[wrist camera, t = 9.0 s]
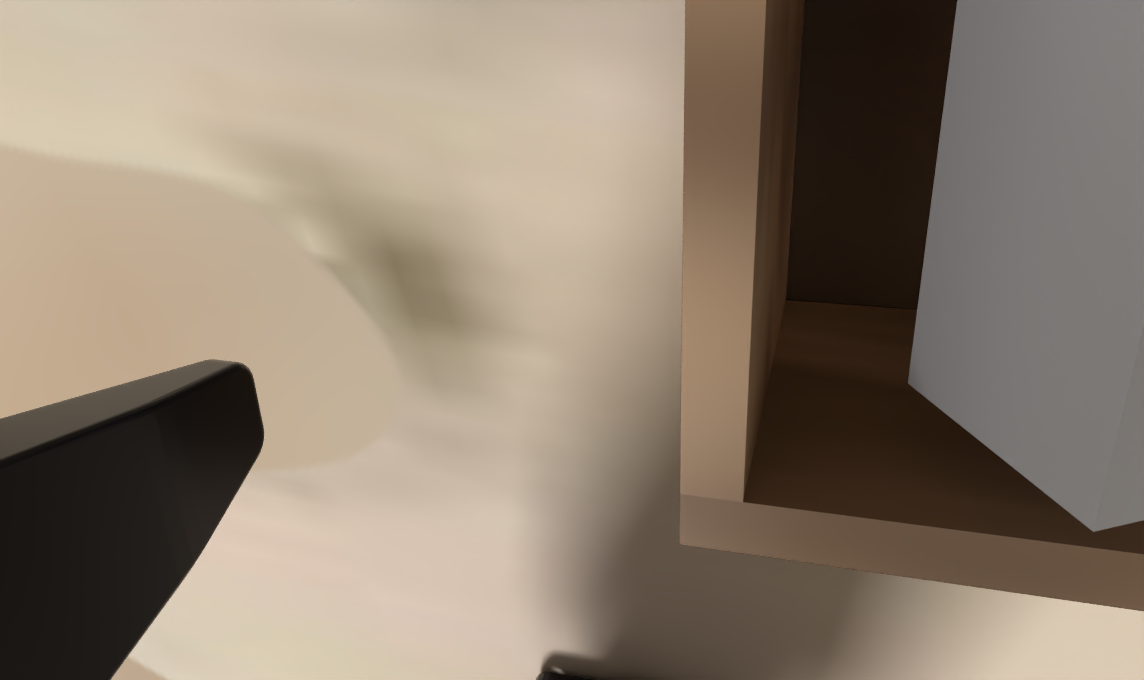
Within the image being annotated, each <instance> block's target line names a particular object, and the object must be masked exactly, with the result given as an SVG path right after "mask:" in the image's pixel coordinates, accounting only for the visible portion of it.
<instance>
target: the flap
mask: <svg viewBox="0 0 1144 680" xmlns="http://www.w3.org/2000/svg"><path fill="white" fill-rule="evenodd" d="M908 384H909V385H910V386H912V387H913V388H914V389H915V390H917V391H918V392H919V393H920V394H922V395H923V396H924V397H925V398H927V399H928V400H929V401H930V402H932V403H933V404H934V405H935V406H937V407H938V408H939V409H940V410H942V411H943V412H944V413H945V414H947V415H948V416H949V417H950V418H952V419H953V420H954V421H955V422H957V423H958V424H959V425H960V426H962V427H963V428H964V429H965V430H967V431H968V432H969V433H970V434H972V435H973V436H974V437H975V438H977V439H978V440H979V441H980V442H982V443H983V444H984V445H985V446H987V447H988V448H989V449H990V450H992V451H993V452H994V453H995V454H997V455H998V456H999V457H1000V458H1002V459H1003V460H1004V461H1005V462H1007V463H1008V464H1009V465H1010V466H1012V467H1013V468H1014V469H1015V470H1017V471H1018V472H1019V473H1020V474H1022V475H1023V476H1024V477H1025V478H1027V479H1028V480H1029V481H1030V482H1032V483H1033V484H1034V485H1035V486H1037V487H1038V488H1039V489H1040V490H1042V491H1043V492H1044V493H1045V494H1047V495H1048V496H1049V497H1050V498H1052V499H1053V500H1054V501H1055V502H1057V503H1058V504H1059V505H1060V506H1062V507H1063V508H1064V509H1065V510H1067V511H1068V512H1069V513H1070V514H1072V515H1073V516H1074V517H1075V518H1077V519H1078V520H1079V521H1080V522H1082V523H1083V524H1084V525H1085V526H1087V527H1088V528H1089V529H1090V530H1092V531H1093V532H1095V531H1099V530H1103V529H1108V528H1112V527H1116V526H1121V525H1125V524H1130V523H1134V522H1138V521H1143V520H1144V0H957V7H956V15H955V22H954V30H953V38H952V46H951V53H950V61H949V69H948V77H947V84H946V92H945V100H944V107H943V115H942V123H941V131H940V138H939V146H938V154H937V161H936V169H935V177H934V185H933V192H932V200H931V208H930V215H929V223H928V231H927V239H926V246H925V254H924V262H923V269H922V277H921V285H920V293H919V300H918V308H917V316H916V324H915V331H914V339H913V347H912V354H911V362H910V370H909V378H908Z"/></svg>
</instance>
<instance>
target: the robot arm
mask: <svg viewBox="0 0 1144 680" xmlns="http://www.w3.org/2000/svg"><path fill="white" fill-rule="evenodd" d="M263 441H264V428H263V423H262V418H261V413H260V408H259V403H258V398H257V393H256V388H255V383H254V379H253V375H252V373H251V371H250V370H249V368H248V367H247V366H245V365H244V364H242V363H239V362H231V361H222V360H205V361H202V362H198V363H194V364H191V365H187V366H184V367H180V368H177V369H173V370H170V371H166V372H163V373H159V374H156V375H153V376H149V377H146V378H142V379H139V380H135V381H131V382H128V383H124V384H121V385H117V386H114V387H110V388H107V389H103V390H100V391H96V392H93V393H89V394H86V395H83V396H79V397H75V398H72V399H68V400H65V401H61V402H58V403H54V404H51V405H47V406H44V407H40V408H37V409H33V410H29V411H26V412H23V413H19V414H16V415H12V416H9V417H5V418H1V419H0V680H111V679H112V677H113V676H114V674H115V673H116V672H117V670H118V669H119V668H120V666H121V664H123V662H124V661H125V659H126V658H127V657H128V655H129V654H130V653H131V651H132V650H133V648H134V647H135V646H136V644H137V643H138V642H139V640H140V639H141V638H142V636H143V635H144V633H145V632H146V631H147V629H148V628H149V627H150V625H151V624H152V622H153V621H154V620H155V618H156V617H157V616H158V614H159V613H160V611H161V610H162V609H163V607H164V606H165V605H166V603H167V602H168V601H169V599H170V598H171V596H172V595H173V594H174V592H175V591H176V590H177V588H178V587H179V585H180V584H181V583H182V581H183V580H184V578H185V577H186V576H187V574H188V573H189V571H190V570H191V568H192V567H193V565H194V564H195V562H196V561H197V559H198V557H199V556H200V554H201V553H202V551H203V549H204V548H205V546H206V544H207V543H208V541H209V539H210V538H211V536H212V534H213V533H214V531H215V529H216V527H217V526H218V524H219V522H220V521H221V519H222V517H223V515H224V514H225V512H226V510H227V509H228V507H229V505H230V504H231V502H232V500H233V498H234V497H235V495H236V493H237V492H238V490H239V488H240V486H241V485H242V483H243V481H244V480H245V478H246V476H247V475H248V473H249V471H250V469H251V468H252V466H253V464H254V463H255V461H256V459H257V457H258V456H259V454H260V452H261V448H262V446H263ZM536 680H588V679H583V678H577V677H572V676H567V675H561V674H556V673H551V672H544V673H541V674H539V675H538V677H537V678H536Z"/></svg>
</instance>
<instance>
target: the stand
mask: <svg viewBox="0 0 1144 680" xmlns="http://www.w3.org/2000/svg"><path fill="white" fill-rule="evenodd" d="M804 2H805V0H685V90H684V181H683V272H682V363H681V453H680V544H681V545H688V546H695V547H702V548H709V549H716V550H723V551H730V552H737V553H744V554H750V555H757V556H764V557H771V558H778V559H785V560H792V561H799V562H806V563H813V564H820V565H827V566H834V567H841V568H847V569H854V570H861V571H868V572H875V573H882V574H889V575H896V576H903V577H910V578H917V579H924V580H931V581H938V582H945V583H951V584H958V585H965V586H972V587H979V588H986V589H993V590H1000V591H1007V592H1014V593H1021V594H1028V595H1035V596H1042V597H1048V598H1055V599H1062V600H1069V601H1076V602H1083V603H1090V604H1097V605H1104V606H1111V607H1118V608H1125V609H1132V610H1139V611H1144V520H1143V521H1138V522H1134V523H1130V524H1125V525H1121V526H1116V527H1112V528H1108V529H1103V530H1099V531H1095V532H1093V531H1092V530H1090V529H1089V528H1088V527H1087V526H1085V525H1084V524H1083V523H1082V522H1080V521H1079V520H1078V519H1077V518H1075V517H1074V516H1073V515H1072V514H1070V513H1069V512H1068V511H1067V510H1065V509H1064V508H1063V507H1062V506H1060V505H1059V504H1058V503H1057V502H1055V501H1054V500H1053V499H1052V498H1050V497H1049V496H1048V495H1047V494H1045V493H1044V492H1043V491H1042V490H1040V489H1039V488H1038V487H1037V486H1035V485H1034V484H1033V483H1032V482H1030V481H1029V480H1028V479H1027V478H1025V477H1024V476H1023V475H1022V474H1020V473H1019V472H1018V471H1017V470H1015V469H1014V468H1013V467H1012V466H1010V465H1009V464H1008V463H1007V462H1005V461H1004V460H1003V459H1002V458H1000V457H999V456H998V455H997V454H995V453H994V452H993V451H992V450H990V449H989V448H988V447H987V446H985V445H984V444H983V443H982V442H980V441H979V440H978V439H977V438H975V437H974V436H973V435H972V434H970V433H969V432H968V431H967V430H965V429H964V428H963V427H962V426H960V425H959V424H958V423H957V422H955V421H954V420H953V419H952V418H950V417H949V416H948V415H947V414H945V413H944V412H943V411H942V410H940V409H939V408H938V407H937V406H935V405H934V404H933V403H932V402H930V401H929V400H928V399H927V398H925V397H924V396H923V395H922V394H920V393H919V392H918V391H917V390H915V389H914V388H913V387H912V386H910V385H909V384H908V378H909V370H910V362H911V354H912V347H913V339H914V331H915V324H916V316H917V310H911V309H898V308H884V307H871V306H857V305H844V304H830V303H817V302H803V301H790V300H786V288H787V272H788V256H789V240H790V225H791V209H792V193H793V177H794V161H795V145H796V129H797V113H798V97H799V82H800V66H801V50H802V34H803V18H804Z"/></svg>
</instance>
